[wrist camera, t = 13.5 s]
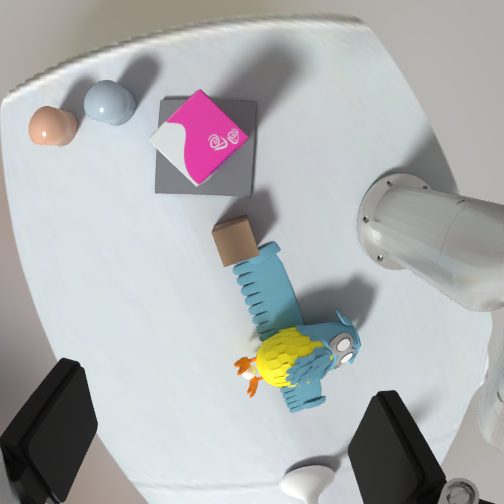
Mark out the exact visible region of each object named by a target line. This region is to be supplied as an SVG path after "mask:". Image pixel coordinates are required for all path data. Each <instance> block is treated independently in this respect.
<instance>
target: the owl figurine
mask: <svg viewBox="0 0 504 504" xmlns="http://www.w3.org/2000/svg"><path fill="white" fill-rule="evenodd" d="M280 250H281V249H280V247H279V246H278V244H277V243H276V242H275V241H273V242H271V243H270V244H268V245H266V246H265V247H263V248H258V251H259V254H260V256H257V257H254V258H251V259H248V260H245V261H247V262H245V261H242V262H245V263H242V264H240V265H238V266H236V267H234V268H233V273H234V274H235V275H240V274H244V273H247V272H249V273H247V274H245V275H242V276H240V277H239V278H238V279H237V283H238V284H239V285H246V284H249V283H252V282H254V283H252V284H249V285H247V286H245V287H243V288H242V289H241V294H242V295H245V296H246V295H250V294H253V293H256V292H258V293H256V294H254V295H251V296H249V297H247V298H246V299H245V304H246V305H253V304H256V303H259V302H261V303H259V304H256V305H254V306H252V307H250V308H249V313H250V314H251V315H254V314H258V313H261V312H263V313H261V314H259V315H257V316H255V317H253V319H252V322H253V323H254V324H260V323H262V324H260V325H258V326H257V327H256V331H257V332H258V333H262V332H265V331H268V330H270V331H268V332H266V333H263V334H262V335H260V337H259V339H260V341H263V342H262V343H263V344H262V345H261V347H260V348H259V349H258V351H257V354H256V357H254V358H252V359H248V357H243V358H240V359H239V360H238V361H237V362H236V363H235V364H234V366H235V367H240V369H239V371H238V374H237V375H241V374H242V375H243V376H244V377H245V378H247V379H250V386H249V388H248V391H247V394H249V393H250V392H251V394H250V398H251V397H253V396H254V394H255V392H256V389H257V385H258V380H262V379H265V380H266V381H267V382H268V383H269V384H271V385H272V386H277V387H283V388H281V389H280V391H281V392H282V393H285V392H287V393H285V394H283V398H288V399H286V400H285V403H289V404H288V405H287V408H291V409H290V412H291V413H294V412H297V411H300V410H302V409H305V408H313V407H316V406H318V405H320V404H322V403H324V402H325V399H326V396H323V397H322V398H320V397H321V391H322V389H321V384H320V379H322V378H323V377H324V376H325V375H326V374H327V372H328V371H330V370H333V369H334V368H335V369H336V368H338V367H340V366H341V365H342V364H344V363H345V362H346V361H349V362H350V363H351V364H352V363H353V360H354V359H355V357H356V354H357V353H358V350H359V348H360V346H361V343H360V339H359V335H358V333H357V330H356V329H355V327H354V325H353V324H352V322H351V321H350V320H349V318H348V317H345V316H343V315H341V314H340V312H339V311H338V309H337V310H336V313H337V315H338V316H339V318H340V319H341V321H334V322H327V323H320V324H313V325H304V322H303V319H302V315H301V312H300V309H299V306H298V303H297V300H296V297H295V294H294V291H293V288H292V285H291V283H290V280H289V278H288V276H287V273H286V271H285V268H284V266H283V263H282V262H281V260H280V259H279V258H278V256H277V255H276V253H278V252H279V251H280ZM239 263H241V262H239ZM236 264H238V263H236ZM262 301H263V302H262ZM264 311H266V312H264ZM265 321H266V322H265ZM263 322H264V323H263ZM254 361H256V364H257V368H258V371H259V373H260V374H261V377H258V378H256V376H255V375H256V369H255V367H254V366H251V365H250V362H254ZM322 375H323V376H322ZM288 391H289V392H288ZM289 397H290V398H289ZM319 398H320V399H319Z"/></svg>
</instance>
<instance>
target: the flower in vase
mask: <svg viewBox="0 0 504 504" xmlns="http://www.w3.org/2000/svg"><path fill="white" fill-rule="evenodd" d="M334 475H335V474H334V471H333V470H331V469H330V468H328V467H326V466H320V465H314V466H306V467H302V468H298V469H295V470H293V471H291V472H289V473H287V474H286V475H285V476H284V477H283V478H282V479H281V481H280V483H279V486H280V488H281V490H282V491H283V492H284V493H286V494H288V495H290V496H293V497H296V498H300V499H302V500H304V501H305V503H306V504H318V497H319V495H320V494H321V493H323V492H324V491H325V490H326V489H327V488H328V487H329V486H330V485H331V483H332V482H333V480H334Z"/></svg>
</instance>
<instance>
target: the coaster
mask: <svg viewBox="0 0 504 504" xmlns="http://www.w3.org/2000/svg"><path fill="white" fill-rule="evenodd" d="M185 101H186V100H160V111H159V123H158V128H159V127H160V126H161V125H162V124H163V123H164V122H165V121H166V120H167V119H168V118H169V117H170V116H171V115H172V114H173V113H174V112H175V111H176V110H177V109H178V108H179V107H180V106H181V105H182V104H183V103H184V102H185ZM212 101H213V102H214V103H215V104H216V105H217V106H218V107H220V108H221V109H222V111H223V112H224V113H225V114H226V115H227V116H228V117H229V118H230V119H231V120H232V121H233V122H234V123H235V124H236V125H237V126H238V127H239V128H240V129H241V130H242V131H243V132H244V133H245V134H246V135H247V136H248V139H247V141H246V142H245V144H244V145H243V147H242V148H241V149H239V150H238V151H237V152H236V153H235V154H234V155H233V156H232V157H231V158H230V159H229V160H228V161H227V162H226V163H225V164H224V165H223V166H222V167H221V168H220V169H219V170H218V171H217V172H216V173H215V174H214V175H212V176H211V177H210V178H209V180H207V181H206V182H204V183H202V184H201V185H199V186H197V187H196V186H195V185H194V184H193V183H192V182H191V181H190V180H189V179H188V178H187V177H186V176H185V175H184V174H183V173H182V172H181V171H180V170H179V169H177V168H176V167H175V166H174V165H173V164H172V163H171V162H170V161H169V160H168V159H167V158H166V157H165V156H164V155H163V154H162V153H161V152H160V151H159V150H158V149H157V153H156V175H155V193H166V194H200V195H224V196H244V197H251V182H252V166H253V151H254V136H255V121H256V106H257V102H251V101H233V100H212Z"/></svg>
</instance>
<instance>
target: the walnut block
mask: <svg viewBox="0 0 504 504" xmlns="http://www.w3.org/2000/svg"><path fill="white" fill-rule="evenodd" d="M212 235H213V238H214V241H215V243H216V246H217V249H218V252H219V254H220V257H221V260H222V262H223V265H224V267H226V266H229V265H233V264H236V263H239V262H242V261H245V260H248V259H251V258H254V257H257V256H260V254H259V251H258V247H257V244H256V241H255V238H254V235H253V232H252V229H251V226H250V223H249V220H248V217H247V215H244V216H241V217H238V218H235V219H232V220H229V221H227V222H224V223H221V224H218V225H215V226H214V227H213V230H212Z"/></svg>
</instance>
